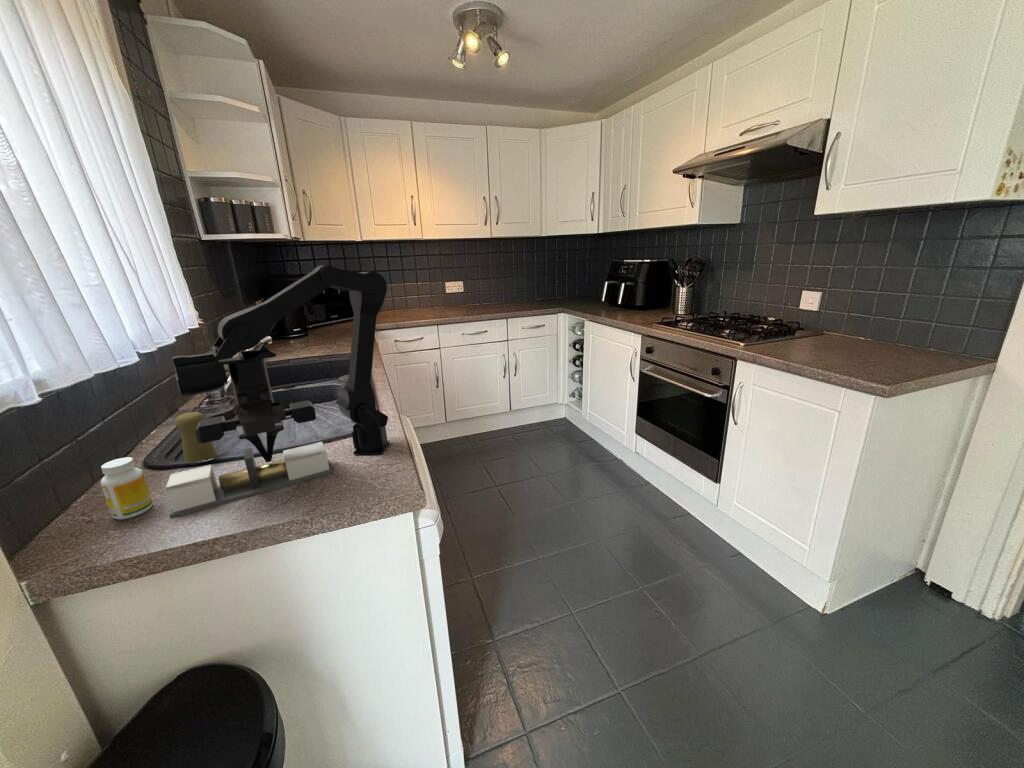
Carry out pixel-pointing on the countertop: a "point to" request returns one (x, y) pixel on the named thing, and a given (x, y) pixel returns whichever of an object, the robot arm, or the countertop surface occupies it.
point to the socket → (191, 488)
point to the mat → (249, 491)
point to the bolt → (252, 473)
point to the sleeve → (306, 460)
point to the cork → (193, 438)
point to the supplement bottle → (125, 488)
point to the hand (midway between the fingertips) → (268, 461)
